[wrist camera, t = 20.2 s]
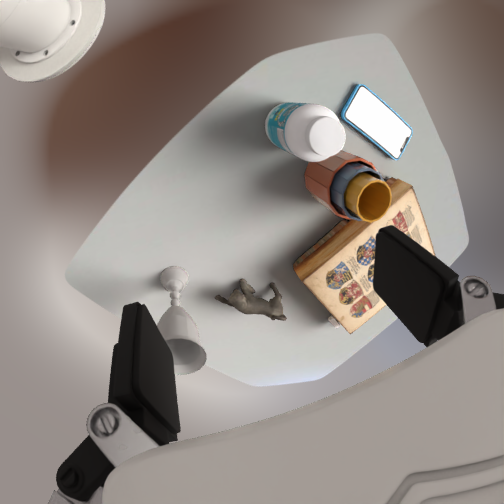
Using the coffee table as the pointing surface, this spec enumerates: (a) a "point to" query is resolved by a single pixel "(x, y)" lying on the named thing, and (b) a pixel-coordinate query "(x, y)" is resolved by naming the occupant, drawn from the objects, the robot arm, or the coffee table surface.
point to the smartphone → (377, 121)
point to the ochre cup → (367, 197)
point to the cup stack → (336, 180)
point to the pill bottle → (305, 130)
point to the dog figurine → (255, 302)
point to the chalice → (180, 325)
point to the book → (358, 259)
